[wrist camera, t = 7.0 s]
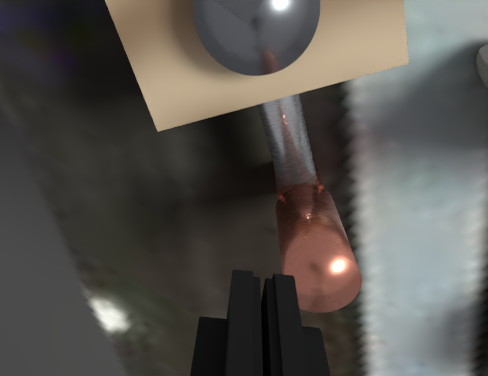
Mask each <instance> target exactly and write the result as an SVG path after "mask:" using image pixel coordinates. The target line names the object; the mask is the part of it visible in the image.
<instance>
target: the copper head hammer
mask: <svg viewBox="0 0 488 376" xmlns="http://www.w3.org/2000/svg"><path fill="white" fill-rule="evenodd" d="M258 108H259V112H260V116H261V119H262V123H263V127H264V130H265V134H266V138H267V142H268V145H269V149H270V153H271V156H272V160H273V165H274V173H275V180H276V188H277V195H278V201H277V204H276V218H277V227H278V236H279V244H280V253H281V261H282V270H283V275H293V276H294V278H295V284H296V291H297V297H298V304H299V308H301V309H303V310H306V311H310V312H318V313H322V312H330V311H334V310H337V309H340V308H342V307H344V306H346V305H347V304H348V303H350V302H351V301H352V300H353V299H354V298H355V297H356V296H357V294H358V292H359V290H360V288H361V283H362V279H361V274H360V271H359V268H358V266H357V263H356V260H355V258H354V255H353V252H352V250H351V247H350V244H349V242H348V239H347V236H346V234H345V231H344V228H343V226H342V223H341V220H340V218H339V215H338V212H337V210H336V207H335V204H334V202H333V199H332V197H331V195H330V194H329V193H328V191H326V190H325V189H324V187H323V183H322V180H321V178H320V175H319V172H318V169H317V166H316V163H315V161H314V158H313V155H312V153H311V148H310V143H309V139H308V134H307V130H306V125H305V120H304V116H303V111H302V107H301V102H300V97H299V93H298V94H295V95H291V96H287V97H284V98H280V99H276V100H272V101H269V102H265V103H261V104H258Z"/></svg>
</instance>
